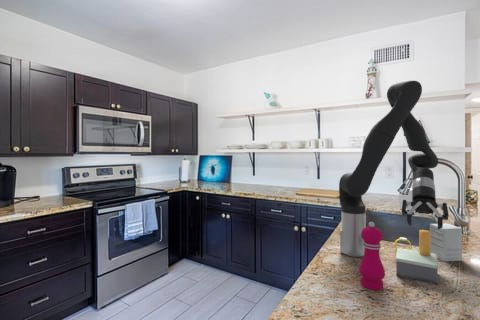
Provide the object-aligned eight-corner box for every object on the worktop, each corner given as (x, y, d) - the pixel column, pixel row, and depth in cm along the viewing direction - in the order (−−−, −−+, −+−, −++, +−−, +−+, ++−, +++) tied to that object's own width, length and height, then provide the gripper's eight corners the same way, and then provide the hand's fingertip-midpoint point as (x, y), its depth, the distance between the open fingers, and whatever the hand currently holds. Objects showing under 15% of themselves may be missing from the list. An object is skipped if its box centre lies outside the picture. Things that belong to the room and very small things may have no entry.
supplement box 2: (446, 253, 105) (446, 222, 105) (462, 261, 98) (463, 228, 98) (428, 254, 105) (429, 223, 105) (443, 261, 98) (444, 228, 98)
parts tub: (396, 275, 87) (396, 260, 87) (398, 263, 96) (398, 250, 96) (437, 284, 81) (437, 268, 81) (435, 271, 90) (435, 256, 90)
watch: (410, 252, 108) (411, 238, 107) (411, 255, 105) (412, 240, 105) (393, 249, 111) (395, 235, 110) (394, 251, 108) (395, 237, 108)
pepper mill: (373, 293, 76) (373, 226, 76) (354, 282, 83) (353, 220, 83) (390, 288, 79) (390, 223, 79) (370, 277, 86) (370, 218, 86)
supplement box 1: (418, 209, 186) (418, 189, 186) (412, 211, 181) (412, 190, 181) (404, 207, 194) (404, 187, 193) (398, 209, 188) (398, 188, 188)
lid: (395, 263, 87) (395, 233, 87) (397, 252, 97) (397, 225, 96) (438, 271, 81) (438, 239, 81) (435, 259, 90) (435, 230, 90)
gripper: (402, 184, 105) (401, 218, 96) (446, 186, 97) (450, 223, 88) (402, 195, 110) (401, 229, 100) (445, 198, 102) (448, 234, 92)
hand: (424, 226), depth 94 cm, fingers open, 8 cm apart
